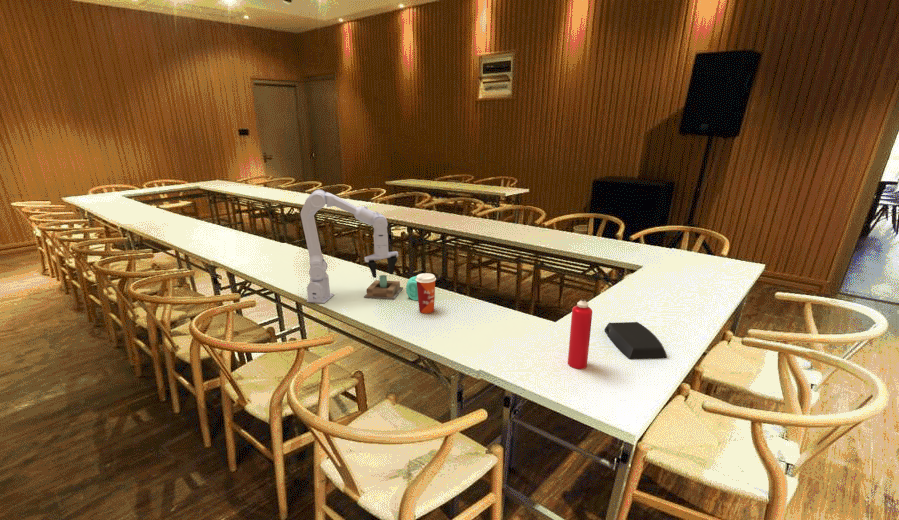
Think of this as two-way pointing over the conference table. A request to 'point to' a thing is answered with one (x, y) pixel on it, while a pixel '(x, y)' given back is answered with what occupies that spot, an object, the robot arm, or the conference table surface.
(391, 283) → the socket
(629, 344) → the external hard drive
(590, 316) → the bottle
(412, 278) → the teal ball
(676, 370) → the conference table surface
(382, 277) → the peg
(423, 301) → the paper cup
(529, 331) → the conference table surface
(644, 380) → the conference table surface
